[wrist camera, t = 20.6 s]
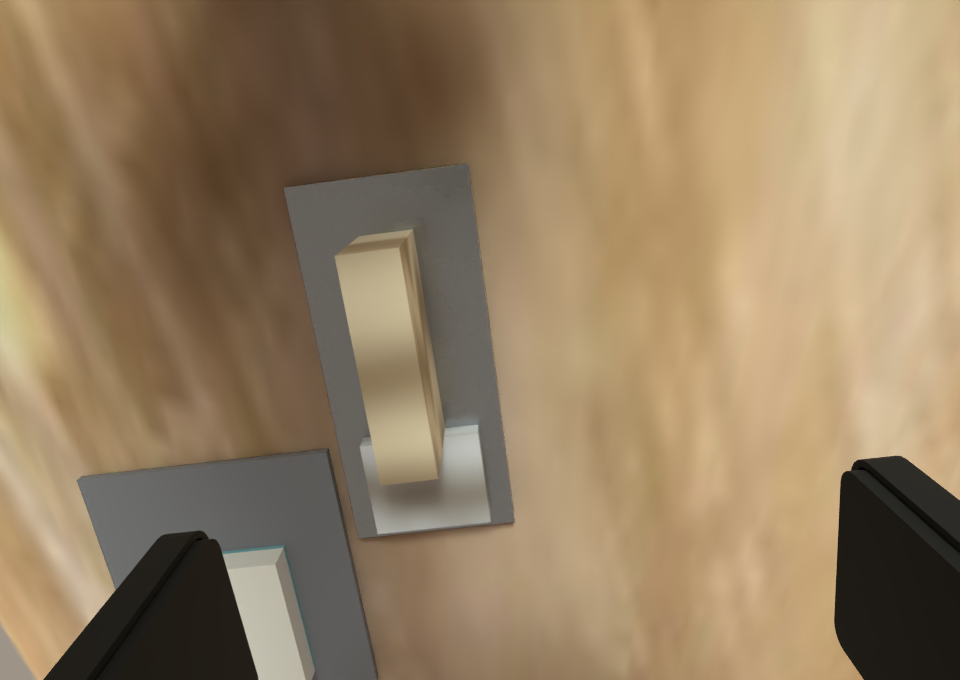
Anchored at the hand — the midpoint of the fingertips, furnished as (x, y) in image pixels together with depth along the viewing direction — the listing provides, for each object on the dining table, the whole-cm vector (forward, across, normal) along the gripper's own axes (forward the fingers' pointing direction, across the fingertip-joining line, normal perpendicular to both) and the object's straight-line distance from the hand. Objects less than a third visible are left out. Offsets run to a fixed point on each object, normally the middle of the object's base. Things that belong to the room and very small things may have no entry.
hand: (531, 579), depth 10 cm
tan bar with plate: (+27, +6, +6) cm, 29 cm away
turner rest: (+28, +6, +6) cm, 30 cm away
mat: (+28, +20, +20) cm, 40 cm away
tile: (+27, +20, +22) cm, 40 cm away
